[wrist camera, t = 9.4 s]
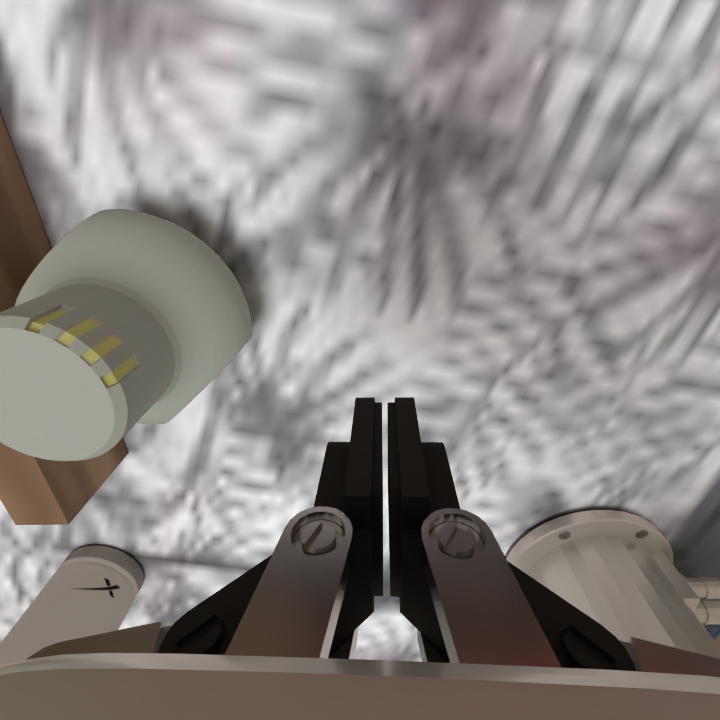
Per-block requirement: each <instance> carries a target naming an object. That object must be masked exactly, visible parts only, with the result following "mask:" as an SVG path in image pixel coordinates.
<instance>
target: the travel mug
mask: <svg viewBox="0 0 720 720" xmlns="http://www.w3.org/2000/svg"><path fill="white" fill-rule="evenodd" d="M143 581H144V574H143V571H142V569H141V567H140V565H139V564H138V563H137V562H136V561H135V560H134V559H133V558H132V557H130V556H129V555H128V554H126V553H124V552H122V551H120V550H117V549H114V548H111V547H106V546H95V545H93V546H85V547H81V548H79V549H77V550H75V551H73V552H72V553H71V554H70V555H69V556H68V557H67V558H66V560H65V561H64V562H63V563H62V565H61V566H60V567H59V569H58V570H57V572H56V573H55V574H54V575H53V576H52V578H51V579H50V580H49V582H48V583H47V584H46V585H45V587H44V588H43V589H42V591H41V592H40V593H39V595H38V596H37V597H36V598H35V600H34V601H33V602H32V604H31V605H30V606H29V607H28V609H27V610H26V611H25V613H24V614H23V615H22V617H21V618H20V619H19V620H18V622H17V623H16V624H15V626H14V627H13V628H12V629H11V631H10V632H9V633H8V635H7V636H6V637H5V639H4V640H3V641H2V642H1V644H0V665H4V664H8V663H13V662H18V661H22V660H26V659H27V658H28V657H30V656H31V655H33V654H35V653H36V652H38V651H39V650H41V649H43V648H44V647H47V646H50V645H53V644H55V643H58V642H62V641H67V640H72V639H77V638H82V637H87V636H92V635H97V634H102V633H107V632H112V631H117V630H118V629H119V627H120V625H121V623H122V621H123V620H124V618H125V616H126V614H127V612H128V610H129V608H130V607H131V605H132V602H133V600H134V599H135V597H136V595H137V594H138V592H139V590H140V588H141V586H142V584H143Z"/></svg>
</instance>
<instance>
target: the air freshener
mask: <svg viewBox="0 0 720 720" xmlns="http://www.w3.org/2000/svg"><path fill="white" fill-rule="evenodd" d="M251 336H252V320H251V316H250V311H249V307H248V303H247V301H246V298H245V296H244V294H243V291H242V289H241V286H240V285H239V283H238V281H237V280H236V278H235V276H234V275H233V273H232V271H231V270H230V269H229V268H228V266H227V265H226V264H225V263H224V261H223V260H222V259H221V258H220V256H219V255H217V254H216V253H215V252H214V251H213V250H212V249H211V248H210V247H209V246H208V245H207V244H206V243H205V242H203V241H202V240H200V239H199V238H197V237H196V236H195V235H193V234H192V233H190V232H189V231H187V230H186V229H184V228H182V227H180V226H178V225H176V224H174V223H172V222H170V221H168V220H165V219H162V218H159V217H156V216H153V215H150V214H147V213H142V212H136V211H130V210H123V209H113V210H103V211H100V212H98V213H95V214H94V215H92V216H90V217H88V218H87V219H85V220H84V221H83V222H81V223H80V224H79V225H77V226H76V227H75V228H74V229H73V230H71V231H70V232H69V233H68V234H67V235H66V236H64V237H63V238H62V239H61V240H60V241H59V242H58V243H57V244H56V245H55V246H54V247H53V248H52V250H51V251H50V252H49V253H48V254H47V255H46V256H45V257H44V259H43V260H42V261H41V262H40V263H39V264H38V266H37V267H36V268H35V270H34V271H33V272H32V274H31V275H30V276H29V278H28V280H27V281H26V283H25V284H24V286H23V287H22V289H21V291H20V293H19V295H18V297H17V300H16V303H15V307H12V308H10V309H7V310H4V311H2V312H0V442H1V443H3V444H4V445H6V446H8V447H10V448H12V449H14V450H16V451H19V452H21V453H24V454H27V455H30V456H33V457H37V458H41V459H47V460H55V461H80V460H88V459H91V458H94V457H98V456H100V455H102V454H104V453H106V452H108V451H109V450H110V449H111V448H113V447H114V446H115V445H116V444H117V443H118V442H119V441H120V440H121V439H122V438H123V437H124V436H125V435H126V433H127V432H128V431H129V430H130V429H131V428H132V427H133V426H134V425H135V424H136V423H142V424H164V423H167V422H169V421H170V420H171V419H172V418H173V417H175V416H176V415H177V414H178V413H179V412H180V411H181V410H182V409H183V408H184V407H186V406H187V405H188V404H189V403H190V402H191V401H192V400H193V399H194V398H195V397H196V396H197V395H198V394H199V393H200V392H201V391H202V390H203V389H204V388H205V387H206V386H207V385H208V384H209V383H210V382H211V381H212V380H213V379H214V378H215V377H216V376H217V375H218V374H219V373H220V372H221V371H222V369H223V368H224V367H225V366H226V365H227V364H228V363H229V362H230V361H231V360H232V359H233V358H234V357H235V355H236V354H237V353H238V352H239V351H240V350H241V349H242V348H243V346H244V345H245V344H246V343H247V342H248V340H249V339H250V338H251Z"/></svg>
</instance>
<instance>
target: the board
mask: <svg viewBox="0 0 720 720" xmlns="http://www.w3.org/2000/svg"><path fill="white" fill-rule="evenodd" d="M51 250H52V248H51V246H50V243H49V240H48V238H47V235H46V233H45V230H44V227H43V225H42V222H41V219H40V217H39V214H38V211H37V209H36V206H35V203H34V201H33V198H32V195H31V193H30V190H29V187H28V185H27V182H26V179H25V177H24V174H23V171H22V169H21V166H20V163H19V161H18V158H17V155H16V153H15V150H14V147H13V145H12V142H11V139H10V137H9V134H8V131H7V129H6V126H5V124H4V121H3V118H2V116H1V113H0V312H2V311H4V310H7V309H10V308H12V307H15V303H16V300H17V297H18V295H19V293H20V291H21V289H22V287H23V286H24V284H25V283H26V281H27V280H28V278H29V276H30V275H31V274H32V272H33V271H34V270H35V268H36V267H37V266H38V264H39V263H40V262H41V261H42V260H43V259H44V257H45V256H46V255H47V254H48V253H49V252H50V251H51ZM127 454H128V451H127V448H126V445H125V443H124V440H123V438H122V439H121V440H120V441H119V442H118V443H117V444H116V445H115V446H114V447H113V448H111V449H110V450H109V451H108V452H106V453H104V454H102V455H100V456H98V457H94V458H91V459H88V460H80V461H55V460H47V459H41V458H37V457H33V456H30V455H27V454H24V453H21V452H19V451H16V450H14V449H12V448H10V447H8V446H6V445H4V444H3V443H1V442H0V499H1V501H2V503H3V504H4V506H5V508H6V509H7V511H8V513H9V514H10V516H11V518H12V519H13V521H14V523H15V524H16V525H47V524H69V523H70V522H71V521H72V520H73V518H74V517H75V516H76V515H77V514H78V512H79V511H80V510H81V509H82V508H83V507H84V505H85V504H86V503H87V502H88V501H89V499H90V498H91V497H92V496H93V495H94V493H95V492H96V491H97V490H98V489H99V488H100V486H101V485H102V484H103V483H104V482H105V480H106V479H107V478H108V477H109V476H110V474H111V473H112V472H113V471H114V470H115V468H116V467H117V466H118V465H119V464H120V463H121V461H122V460H123V459H124V458H125V457H126V455H127Z"/></svg>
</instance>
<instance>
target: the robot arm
mask: <svg viewBox="0 0 720 720" xmlns="http://www.w3.org/2000/svg"><path fill="white" fill-rule="evenodd" d="M388 506H389V550H390V594H391V596H395V597H399V598H400V613H402V614H403V615H404V616H405V617H406V618H407V619H408V620H409V621H410V622H411V623H412V624H413V625H414V626H415V627H416V628H417V638H418V644H419V648H420V653H421V657H422V662H411V661H385V660H358V659H353V658H354V653H355V648H356V643H357V636H358V626H359V625H360V624H361V623H362V622H363V621H365V620H366V619H367V618H368V617H369V616H370V615H371V614H372V613H373V612H374V596H383V472H382V403H375V399H374V398H356V400H355V408H354V416H353V424H352V432H351V440H350V442H328V444H327V448H326V453H325V458H324V462H323V467H322V472H321V476H320V481H319V485H318V490H317V495H316V499H315V504H314V507H313V508H308V509H306V510H304V511H302V512H300V513H298V514H297V515H295V516H294V517H293V518H292V519H291V520H290V521H289V523H288V524H287V525H286V527H285V529H284V531H283V533H282V535H281V537H280V539H279V541H278V544H277V546H276V548H275V550H274V552H273V554H272V555H271V556H270V557H268V558H267V559H265V560H264V561H262V562H261V563H259V564H258V565H256V566H255V567H253V568H252V569H250V570H249V571H247V572H246V573H244V574H243V575H241V576H240V577H239V578H237V579H236V580H234V581H233V582H231V583H230V584H228V585H227V586H225V587H224V588H222V589H221V590H219V591H218V592H216V593H215V594H213V595H212V596H210V597H209V598H207V599H206V600H204V601H203V602H201V603H200V604H198V605H197V606H196V607H194V608H193V609H191V610H190V611H188V612H187V613H186V614H184V615H183V616H182V617H181V618H180V619H178V620H177V621H176V622H175V623H174V624H173V625H172V626H167V627H164V626H163V623H162V621H161V622H156V623H151V624H146V625H141V626H137V627H132V628H127V629H122V630H117V631H112V632H107V633H102V634H97V635H92V636H87V637H82V638H77V639H72V640H67V641H62V642H58V643H55V644H53V645H50V646H47V647H44V648H43V649H41V650H39V651H38V652H36V653H35V654H33V655H31V656H30V657H28V658H27V659H26V660H22V661H18V662H13V663H8V664H4V665H0V720H720V648H719V647H718V645H717V644H716V642H715V641H714V640H713V638H712V637H711V636H710V634H709V633H708V632H707V630H706V629H705V628H704V626H703V625H702V624H720V580H719V579H718V578H716V577H695V578H686V577H685V576H684V575H682V574H680V573H679V571H678V570H677V569H676V567H675V566H674V565H673V563H674V560H673V551H672V549H671V546H670V544H669V542H668V541H667V540H666V538H665V537H664V536H663V535H662V533H661V532H660V531H659V530H658V529H657V528H656V527H655V526H654V525H653V524H652V523H651V522H649V521H647V520H645V519H644V518H642V517H640V516H637V515H634V514H630V513H627V512H622V511H614V510H589V511H582V512H575V513H571V514H568V515H564V516H561V517H558V518H555V519H553V520H551V521H548V522H546V523H544V524H542V525H540V526H538V527H537V528H535V529H533V530H532V531H530V532H529V533H528V534H526V535H525V536H524V537H523V538H521V539H520V540H519V541H518V543H517V544H516V545H515V546H514V547H513V548H512V549H511V551H510V553H509V554H508V556H507V558H505V556H504V554H503V552H502V550H501V548H500V547H499V545H498V543H497V541H496V539H495V537H494V535H493V533H492V531H491V530H490V528H489V527H488V525H487V524H486V523H485V522H484V521H483V520H482V519H480V518H479V517H478V516H476V515H474V514H472V513H470V512H468V511H465V510H461V509H460V506H459V502H458V498H457V494H456V490H455V486H454V482H453V478H452V474H451V470H450V466H449V462H448V458H447V454H446V450H445V446H444V444H443V443H442V442H421V439H420V433H419V427H418V420H417V414H416V408H415V401H414V398H395V403H388Z"/></svg>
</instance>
